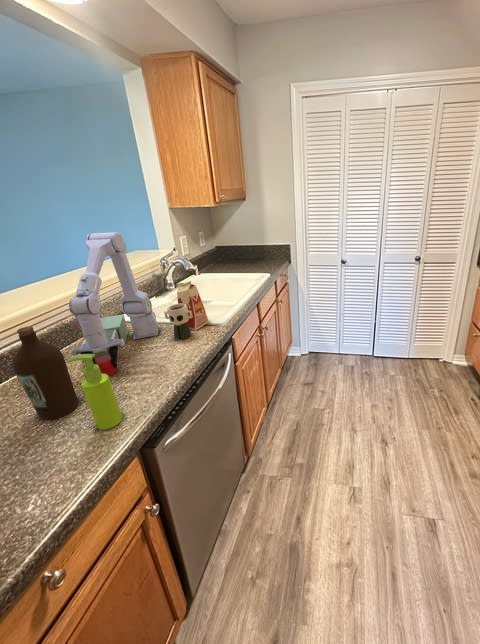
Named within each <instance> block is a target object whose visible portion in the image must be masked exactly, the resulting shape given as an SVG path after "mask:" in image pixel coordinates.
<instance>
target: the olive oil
mask: <svg viewBox="0 0 480 644" xmlns="http://www.w3.org/2000/svg"><path fill="white" fill-rule="evenodd" d="M16 332H17V334H18V338H19V340H20V342H21V346H20V347H19V349H18V351H17V352H16V353H15V354H14V357H13V359H12V370H13V372H14V374H15V376H16V378H17V379H18V381H19V383H20V385H21V386H22V388H23V390H24V392H25V394H26V395H27V398H28V399H29V401H30V403H31V404H32V407H33V408H34V410H35V412H36V414H37V416H38V417H39V419H41V420H46V421H49V420H55V419H59V418H61V417H63V416H66V415H67V414H70V413H71V412H72V411H74V410H75V409H76V408H77V407H78V405H79V398H78V396H77V393H76V390H75V387H74V384H73V381H72V378H71V374H70V372H69V369H68V365H67V362H66V359H65V355H64V353H63V352H62V351H61V350H60V349H59V348H58V347H57V346H56V345H53V344H51V343H49V342H45V341H43V340H41V339H39V338H38V335H37V332H36V331H35V330H34V327H33V326H23V327H21V328H18V329H17V330H16Z"/></svg>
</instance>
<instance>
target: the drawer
mask: <svg viewBox="0 0 480 644" xmlns="http://www.w3.org/2000/svg"><path fill="white" fill-rule="evenodd" d="M105 334H106V337H107V340H113V339H120V336H119V333H118V330H117V329H113V330H108V331H105ZM85 344H87V343H86V341H85V339H84V338H83V342H82V343H81V346H82V345H85ZM119 348H120V346H119V347H118V352H117V357H118V356H120V351H119ZM109 349H110V348H107V349H102V350H100V351H96V352H93V354H95V357H94V358H95V360H96V359H97V358H99V357H102V356H107V355H109V353H108V351H109ZM80 354H81V353H80ZM80 354H79V355H80ZM109 356H110V355H109ZM81 361H82V363H84V361H83V360H81Z"/></svg>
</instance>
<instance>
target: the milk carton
mask: <svg viewBox="0 0 480 644" xmlns="http://www.w3.org/2000/svg"><path fill="white" fill-rule="evenodd" d="M175 285H176V286H177V289H176V297H177V304H185V305H186V306H187V311H192V316H193V318H189V320H188V321H187V324H188V326H189V329H190V331H197V330H199V329H200V328H202V327H204V326H205V325H207V324H208V323H210V321H209V317H208V315H207V312H206V308H205V306H204V303H203V300H202V298H201V295H200V293H199V290H198V288H197V285H196V284H193V283H192V280H190V281H187V282H184V283H176V284H175ZM188 316H190V313H188Z"/></svg>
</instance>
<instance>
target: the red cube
mask: <svg viewBox="0 0 480 644" xmlns="http://www.w3.org/2000/svg"><path fill="white" fill-rule="evenodd" d="M94 363H95V364H97V365H98V366H99V368H100V371H101V374H107V375H108V376H109V377H110V376H112V375H113V374H115V373H116V372H117V368H114V366H113V362H112V359H111V357H110V356H109V355H107V356H102V357H99V358H97V359H96V360H95V361H94Z"/></svg>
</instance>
